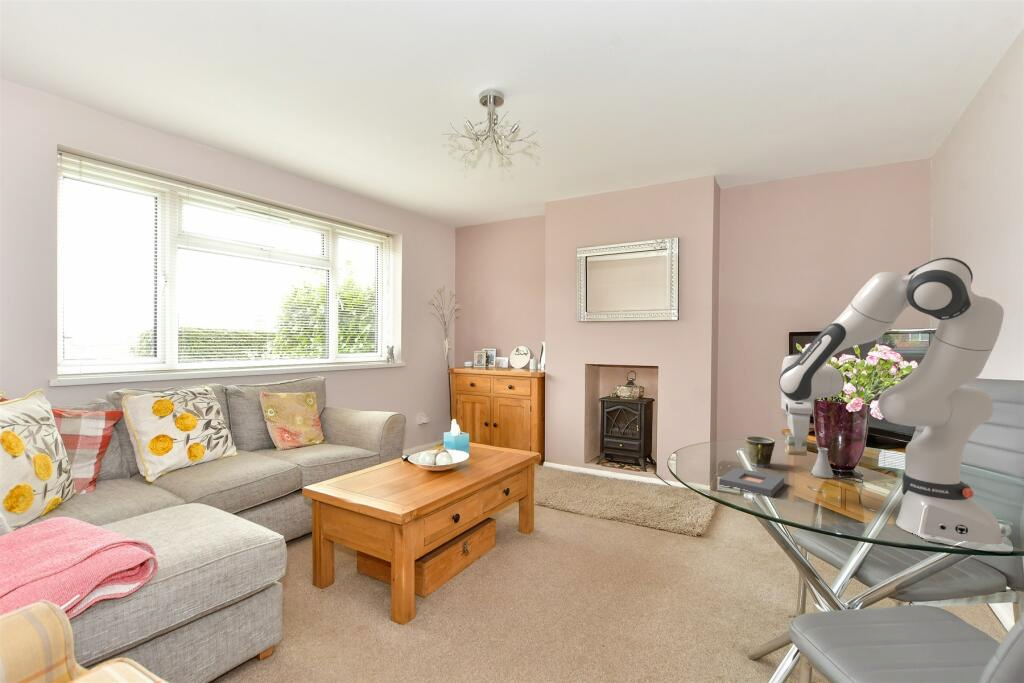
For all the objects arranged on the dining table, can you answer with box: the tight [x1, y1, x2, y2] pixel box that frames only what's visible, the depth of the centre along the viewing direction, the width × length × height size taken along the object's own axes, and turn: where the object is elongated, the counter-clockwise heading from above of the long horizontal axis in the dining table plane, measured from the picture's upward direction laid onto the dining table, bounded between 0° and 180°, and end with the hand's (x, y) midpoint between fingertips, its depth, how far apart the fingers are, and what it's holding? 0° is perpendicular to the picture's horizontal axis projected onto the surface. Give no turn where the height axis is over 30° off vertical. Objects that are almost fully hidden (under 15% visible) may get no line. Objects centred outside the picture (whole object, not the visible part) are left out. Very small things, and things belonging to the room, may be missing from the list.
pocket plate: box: [718, 467, 785, 498], centre depth 163 cm, size 16×16×2 cm
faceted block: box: [784, 432, 808, 457], centre depth 153 cm, size 5×5×6 cm
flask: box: [810, 447, 835, 479], centre depth 171 cm, size 7×7×10 cm
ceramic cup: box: [745, 435, 776, 469], centre depth 183 cm, size 13×10×10 cm
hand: (796, 446), depth 153 cm, fingers closed on faceted block, 5 cm apart
